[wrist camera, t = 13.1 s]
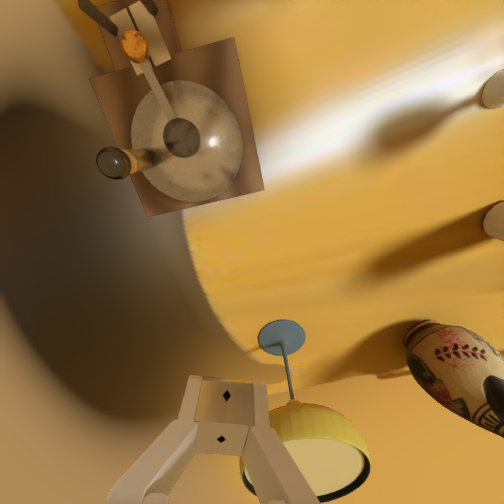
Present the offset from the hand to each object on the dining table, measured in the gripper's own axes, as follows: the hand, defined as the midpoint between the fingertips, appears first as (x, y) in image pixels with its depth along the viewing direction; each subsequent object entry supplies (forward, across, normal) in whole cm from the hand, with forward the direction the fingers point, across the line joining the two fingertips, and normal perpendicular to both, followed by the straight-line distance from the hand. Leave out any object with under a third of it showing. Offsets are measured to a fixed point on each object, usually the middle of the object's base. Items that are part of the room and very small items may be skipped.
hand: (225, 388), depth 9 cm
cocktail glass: (+35, +14, -30) cm, 48 cm away
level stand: (+35, -11, +11) cm, 38 cm away
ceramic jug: (+35, +47, -24) cm, 63 cm away
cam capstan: (+33, -11, +9) cm, 36 cm away
